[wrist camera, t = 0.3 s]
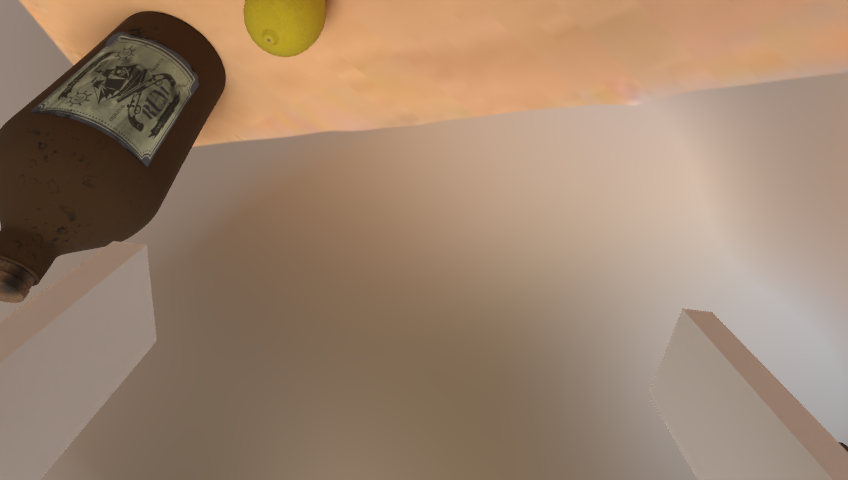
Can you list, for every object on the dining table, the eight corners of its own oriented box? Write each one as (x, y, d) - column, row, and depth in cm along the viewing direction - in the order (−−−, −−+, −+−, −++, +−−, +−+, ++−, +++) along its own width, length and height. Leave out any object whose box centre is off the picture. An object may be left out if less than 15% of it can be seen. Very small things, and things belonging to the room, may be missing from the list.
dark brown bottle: (215, 127, 51) (81, 348, 35) (106, 69, 47) (-100, 290, 31) (247, 51, 44) (96, 288, 28) (121, -24, 40) (-137, 203, 24)
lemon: (254, -49, 37) (213, 1, 32) (325, -55, 36) (294, -4, 31) (280, 23, 41) (246, 78, 36) (343, 19, 40) (319, 75, 35)
